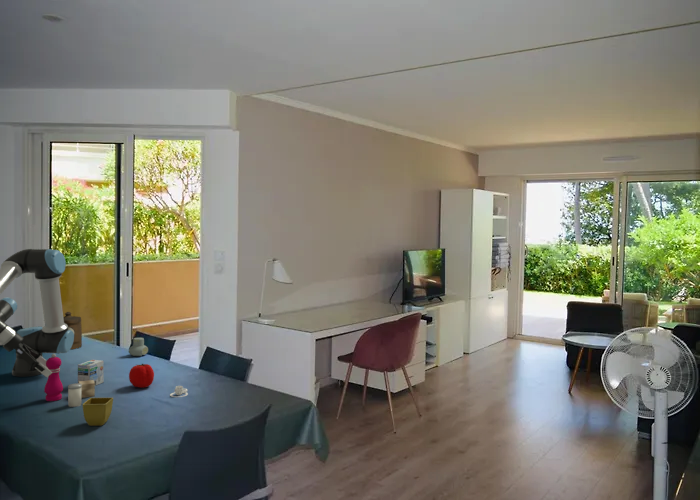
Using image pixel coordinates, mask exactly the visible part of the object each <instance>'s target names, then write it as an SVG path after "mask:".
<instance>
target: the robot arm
mask: <svg viewBox="0 0 700 500" xmlns="http://www.w3.org/2000/svg"><path fill="white" fill-rule="evenodd" d="M66 263H67V262H66V259H65V256H64V254H63V253H62V252H61V251H60V250H58V249H51V248H47V249H45V248H43V249H42V248H40V249H39V248H38V249H37V248H36V249H35V248H25V249H22V250H20V251H17V252H16V253H14V254H12V255H10V256H9V257H7V258H5V260H4V261H3V262H2V263H1V264H0V295H2V294H3V292H4V291H5V290H6V289H7V288H8V287H9V285H10V284H12V282H14V280H15V279H17V278H20V277H21V276H22V275H24V274H34V279H36V280H37V281H38V283H39V291H40V297H41V306H42V311H43V312H42V314H43V319H44V320H43V321H44V326H30V327H26V328H20V329H18V330H17V331H16V330H15V329H14V328H12V327H10V326H9V325H8V324H7V323H5V322H7V321H8V320H9V319H10V318H11V317H12V316H13V315H14V314H15V312H16V311H17V309H18V303H17V301H16V300H14V299H13V298H11V297H3V298H1V299H0V346H2V348H3V349H5V350H6V351H7V352H12V351H13V350H15V362H14V363H13V364H14V365H13V367H12V370H11V375H12V376H13V377H22V378H23V377H27V378H28V377H34V376H39V375H43V376H44V377H45V378H48V376H49V375H50V374H51V373H52V372H51V371H50V370H49V369H48V367H47V366H46V361H47V359H45V358H44V357H43V354H56V355H57V354H66V353H68V352H69V351H71V350H72V349H71V347H72V344H73V341H74V333H73V331H71V330H68V325H67V324H65V323H64V319H63V317H64V312H63V303H62V302H63V301H62V296H61V287H60V278H61V277H62V275H63V273H64V272H65V270H66V266H67V264H66Z"/></svg>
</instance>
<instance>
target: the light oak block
mask: <svg viewBox="0 0 700 500" xmlns="http://www.w3.org/2000/svg"><path fill="white" fill-rule="evenodd" d="M79 384H82V387H81V399H82V398H83V399H84V398H85V399H86V398H95V395H96V394H95V393H96V391H95V387H96V386H95V383H94V380H88V381H79Z"/></svg>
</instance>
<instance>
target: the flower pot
mask: <svg viewBox="0 0 700 500" xmlns="http://www.w3.org/2000/svg"><path fill="white" fill-rule="evenodd" d="M113 404H114V397H89V399H87V400H86V401H84V403H81V405H82V412H83V417H84V421H85V422H86V424H87V425H88V427H89V426H93V427H94V426H97V427H98V426H99V427H100V426H103V425H105V424H106V423H107V422H108V420H109V418H110V417H111V414H112V411H113V410H112V409H113Z"/></svg>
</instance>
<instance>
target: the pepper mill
mask: <svg viewBox="0 0 700 500" xmlns="http://www.w3.org/2000/svg"><path fill="white" fill-rule="evenodd" d="M61 365H62V360H61V358H60V357H57V353H51V355H50V357H49V358H47V359H46V366H47V367H48V369H49V370H50V371H51V372H52V373H51V374H50V375H49V376H48V377H47V380H46V383H45V385H44V390H43V392H44V393H45V401H47V402H56V401H59V400H61V399H62V398H63V394H62V392H63V391H64V386H63V383H62V381H61V378H60V372H61Z"/></svg>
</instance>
